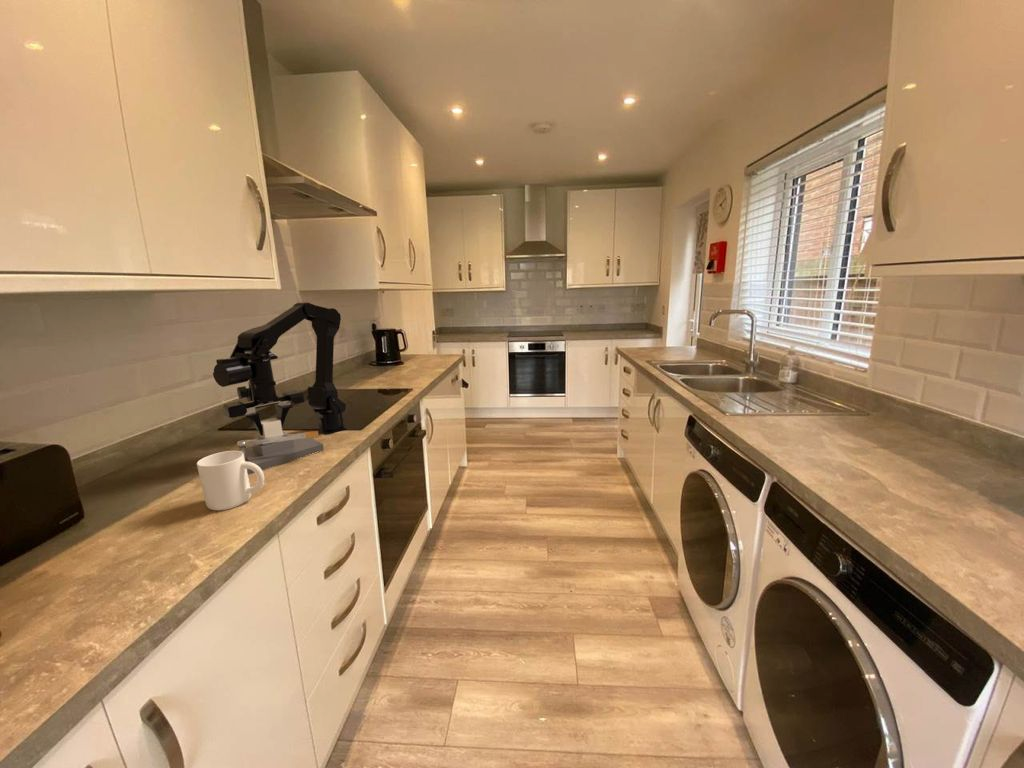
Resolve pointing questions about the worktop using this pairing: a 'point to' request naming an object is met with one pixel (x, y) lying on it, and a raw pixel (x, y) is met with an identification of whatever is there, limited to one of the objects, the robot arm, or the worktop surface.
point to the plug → (271, 429)
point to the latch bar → (277, 439)
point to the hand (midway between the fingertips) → (271, 432)
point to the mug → (227, 479)
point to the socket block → (279, 452)
